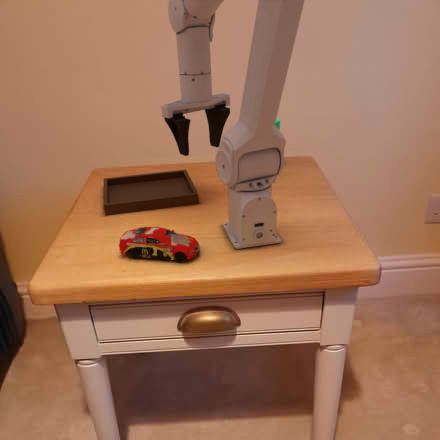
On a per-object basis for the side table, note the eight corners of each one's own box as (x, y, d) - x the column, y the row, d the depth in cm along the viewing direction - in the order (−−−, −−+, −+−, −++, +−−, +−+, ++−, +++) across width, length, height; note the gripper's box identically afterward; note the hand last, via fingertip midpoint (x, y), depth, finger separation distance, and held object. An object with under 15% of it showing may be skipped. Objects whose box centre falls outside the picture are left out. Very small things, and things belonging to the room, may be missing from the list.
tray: (199, 203, 85) (198, 193, 84) (105, 215, 82) (103, 205, 81) (186, 178, 98) (186, 169, 97) (105, 187, 95) (103, 178, 94)
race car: (204, 248, 70) (202, 226, 68) (194, 265, 66) (193, 242, 63) (130, 241, 73) (126, 220, 71) (117, 257, 69) (112, 235, 66)
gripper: (212, 66, 82) (215, 139, 89) (148, 76, 74) (157, 154, 82) (237, 69, 77) (237, 145, 85) (171, 79, 70) (178, 162, 77)
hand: (200, 150), depth 83 cm, fingers open, 7 cm apart
